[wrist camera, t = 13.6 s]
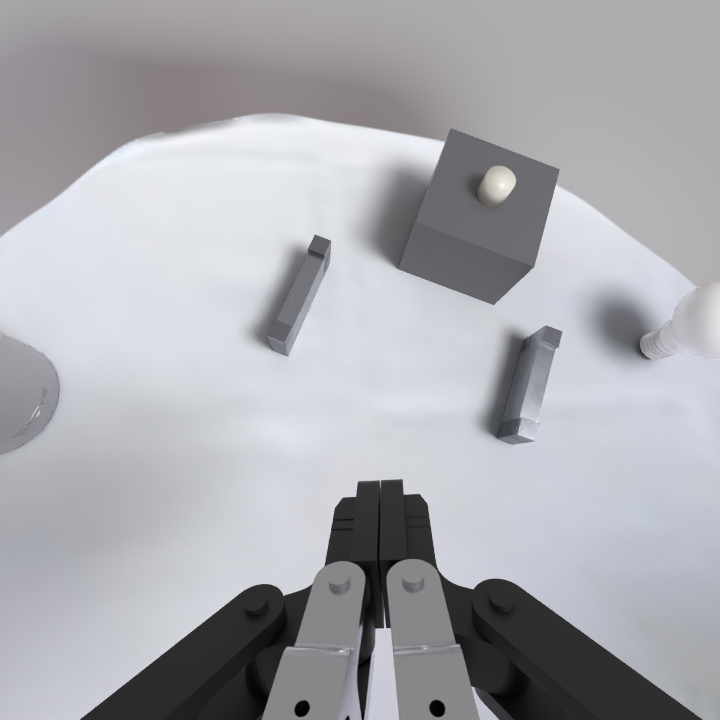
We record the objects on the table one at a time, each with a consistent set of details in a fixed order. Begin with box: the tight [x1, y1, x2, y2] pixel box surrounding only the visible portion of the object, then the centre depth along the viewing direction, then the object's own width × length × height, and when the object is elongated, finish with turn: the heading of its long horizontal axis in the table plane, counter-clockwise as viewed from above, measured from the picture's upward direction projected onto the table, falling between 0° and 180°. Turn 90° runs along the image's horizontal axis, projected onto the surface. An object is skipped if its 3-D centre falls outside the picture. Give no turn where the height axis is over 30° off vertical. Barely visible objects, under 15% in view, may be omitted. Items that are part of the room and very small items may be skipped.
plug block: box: [398, 129, 559, 305], centre depth 38 cm, size 10×10×10 cm
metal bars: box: [267, 235, 562, 445], centre depth 37 cm, size 23×10×4 cm, turn 69°
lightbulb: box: [640, 281, 720, 360], centre depth 36 cm, size 6×6×11 cm
